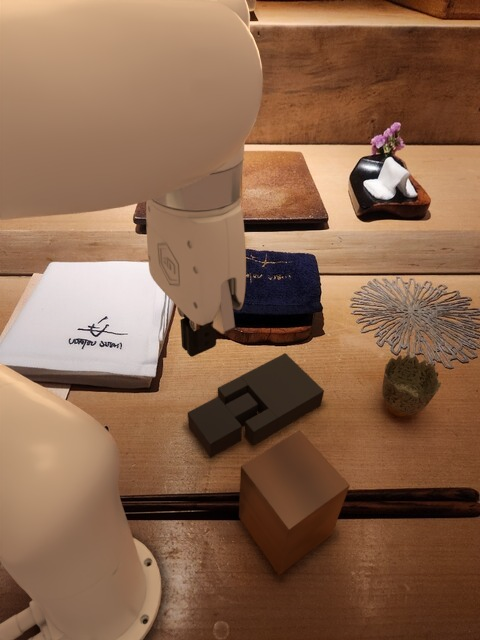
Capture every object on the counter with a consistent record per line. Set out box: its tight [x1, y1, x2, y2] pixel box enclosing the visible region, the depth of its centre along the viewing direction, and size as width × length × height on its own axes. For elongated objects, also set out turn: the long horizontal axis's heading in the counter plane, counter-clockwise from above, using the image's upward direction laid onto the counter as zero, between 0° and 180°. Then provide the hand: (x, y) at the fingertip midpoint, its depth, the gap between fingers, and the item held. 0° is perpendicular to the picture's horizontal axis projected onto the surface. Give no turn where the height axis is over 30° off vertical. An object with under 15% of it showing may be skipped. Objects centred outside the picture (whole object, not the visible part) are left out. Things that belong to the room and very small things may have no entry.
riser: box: [238, 429, 351, 576], centre depth 51 cm, size 8×8×12 cm
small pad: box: [187, 393, 258, 459], centre depth 64 cm, size 9×6×4 cm, turn 124°
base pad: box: [217, 352, 325, 447], centre depth 68 cm, size 13×9×4 cm
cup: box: [381, 354, 442, 418], centre depth 66 cm, size 8×7×8 cm
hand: (199, 347), depth 48 cm, fingers closed
